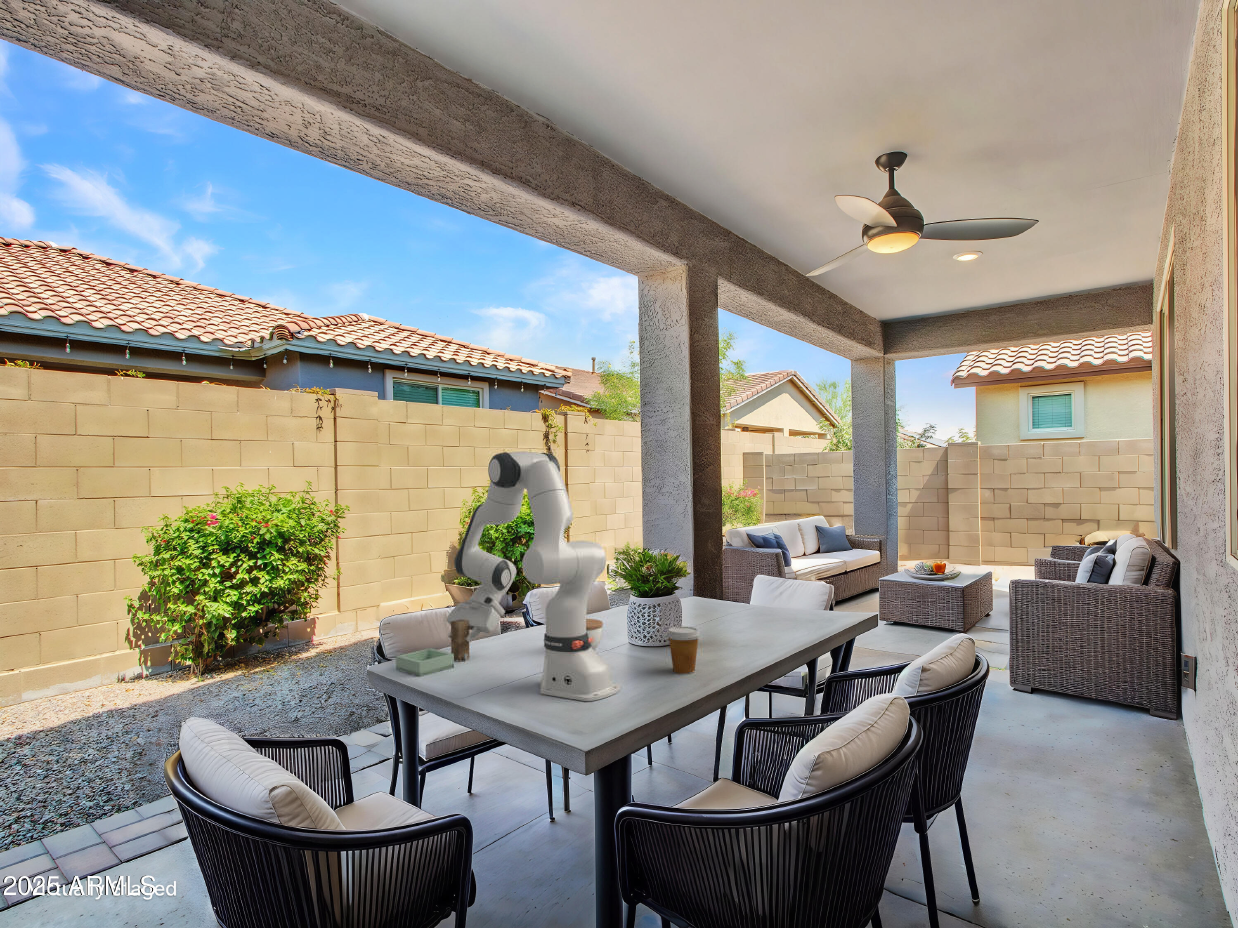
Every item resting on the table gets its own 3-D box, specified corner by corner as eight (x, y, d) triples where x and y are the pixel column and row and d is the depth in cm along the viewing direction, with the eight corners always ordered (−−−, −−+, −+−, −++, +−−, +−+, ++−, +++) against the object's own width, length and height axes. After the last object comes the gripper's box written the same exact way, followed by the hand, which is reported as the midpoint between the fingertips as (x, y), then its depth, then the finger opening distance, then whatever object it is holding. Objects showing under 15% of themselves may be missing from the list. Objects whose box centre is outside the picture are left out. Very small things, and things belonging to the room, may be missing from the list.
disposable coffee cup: (702, 667, 194) (701, 626, 194) (697, 676, 184) (697, 633, 185) (671, 665, 196) (670, 625, 196) (664, 674, 187) (664, 632, 187)
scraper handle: (471, 659, 205) (471, 621, 206) (461, 662, 202) (460, 623, 203) (459, 656, 209) (459, 618, 210) (449, 659, 206) (449, 620, 206)
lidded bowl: (586, 656, 207) (585, 621, 207) (557, 651, 215) (556, 617, 215) (610, 648, 217) (610, 615, 217) (581, 643, 225) (581, 611, 225)
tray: (453, 667, 197) (453, 653, 197) (419, 676, 187) (419, 662, 187) (430, 660, 204) (430, 648, 204) (396, 669, 195) (396, 656, 195)
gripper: (457, 594, 218) (432, 629, 210) (497, 600, 206) (473, 637, 198) (468, 606, 222) (444, 640, 214) (508, 612, 209) (484, 649, 201)
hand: (458, 639), depth 205 cm, fingers open, 7 cm apart
